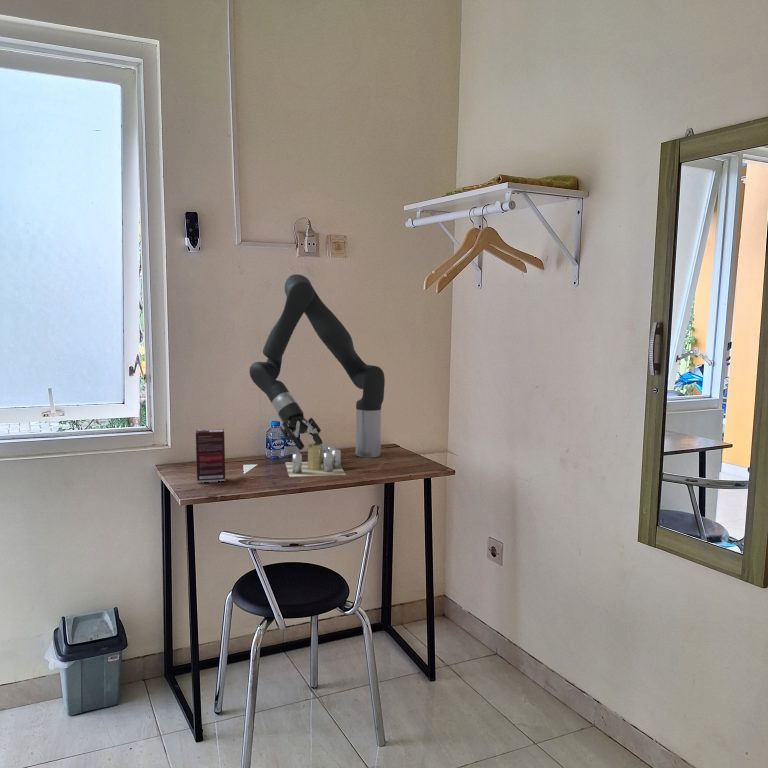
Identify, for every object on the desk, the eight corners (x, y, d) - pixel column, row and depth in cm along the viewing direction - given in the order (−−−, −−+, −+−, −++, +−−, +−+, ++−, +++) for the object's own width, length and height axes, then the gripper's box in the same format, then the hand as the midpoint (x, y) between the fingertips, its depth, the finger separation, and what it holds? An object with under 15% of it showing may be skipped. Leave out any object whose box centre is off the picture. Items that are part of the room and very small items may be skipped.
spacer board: (285, 465, 238) (285, 462, 238) (337, 463, 242) (337, 460, 242) (289, 479, 219) (289, 476, 219) (346, 477, 222) (346, 474, 222)
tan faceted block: (310, 466, 233) (310, 442, 232) (322, 467, 232) (322, 443, 231) (306, 469, 228) (307, 445, 227) (318, 470, 228) (318, 446, 227)
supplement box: (224, 478, 219) (224, 428, 217) (225, 482, 215) (224, 431, 213) (196, 479, 217) (195, 429, 215) (196, 483, 212) (195, 432, 211)
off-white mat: (243, 465, 236) (243, 464, 236) (273, 465, 238) (273, 463, 238) (243, 478, 219) (243, 477, 219) (275, 477, 221) (275, 476, 221)
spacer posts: (289, 462, 238) (289, 445, 237) (336, 461, 241) (336, 444, 241) (292, 473, 222) (292, 455, 222) (343, 472, 226) (343, 454, 225)
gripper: (277, 403, 229) (302, 442, 223) (308, 399, 240) (332, 436, 234) (266, 417, 232) (290, 456, 227) (297, 413, 244) (320, 450, 238)
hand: (311, 446), depth 230 cm, fingers open, 8 cm apart
